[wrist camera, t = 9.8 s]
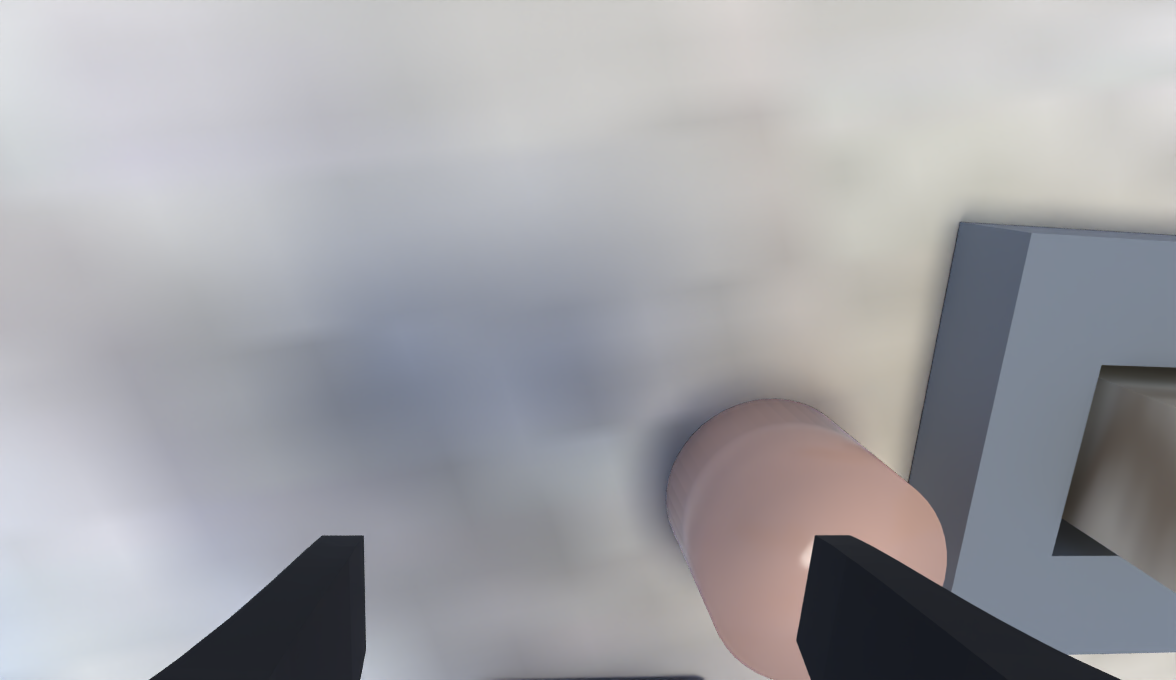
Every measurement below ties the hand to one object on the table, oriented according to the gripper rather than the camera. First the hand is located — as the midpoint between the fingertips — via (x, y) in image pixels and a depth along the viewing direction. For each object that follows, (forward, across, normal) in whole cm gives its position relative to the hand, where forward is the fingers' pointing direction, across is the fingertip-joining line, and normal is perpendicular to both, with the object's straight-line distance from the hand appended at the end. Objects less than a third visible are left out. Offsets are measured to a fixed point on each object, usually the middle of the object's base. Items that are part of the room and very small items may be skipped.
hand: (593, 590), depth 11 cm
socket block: (+10, -18, +1) cm, 21 cm away
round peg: (+10, -7, +4) cm, 13 cm away
